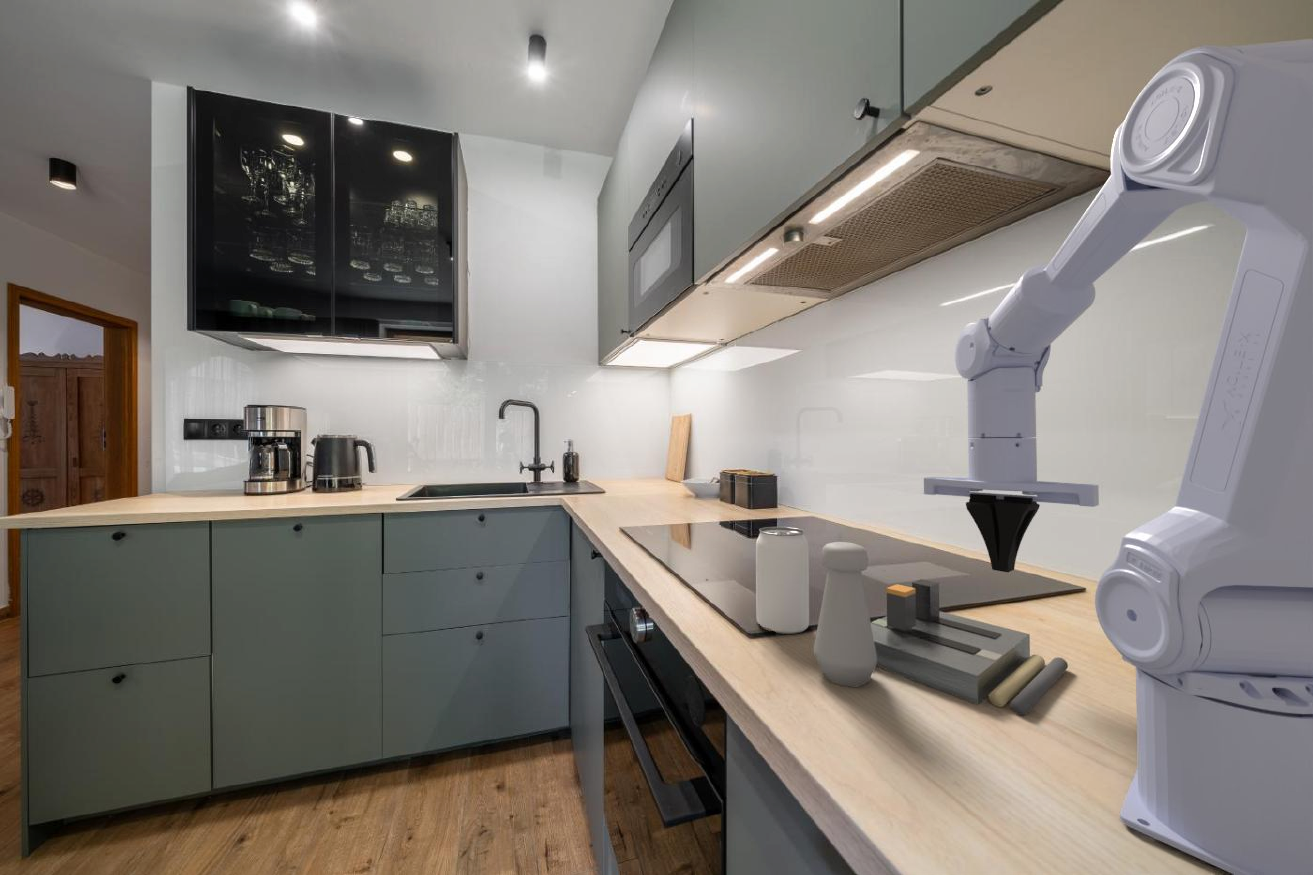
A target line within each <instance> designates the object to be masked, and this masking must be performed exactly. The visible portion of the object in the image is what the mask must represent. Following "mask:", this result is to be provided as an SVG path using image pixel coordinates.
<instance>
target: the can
mask: <svg viewBox="0 0 1313 875" xmlns="http://www.w3.org/2000/svg"><path fill="white" fill-rule="evenodd" d="M758 531H759V534H758V537H757V539H756V542H755V596H756V597H755V602H756V604H755V605H756V607H755V610H756V612H755V613H756V614H755V615H756V616H755V617H756V622H757V624H758V625H759V624H760V625H761V626H763V627H766V628H769V629H771V630H773V631H775V632H776V633H775V634H780V635H798V634H801V633H804V632H805V631H806V630H807V629H808V628H809V626H810V597H809V596H810V583H809V582H810V581H809V580H810V577H809V576H810V573H809V571H810V569H809V565H810V564H809V562H810V561H809V559H810V558H809V556H810V555H809V554H810V553H809V543H808V541H807V538H806V536H805V533H806V532H805V530H803V529H800V528H796V527H788V526H765V527H762V528H759V529H758ZM760 625H759V626H760Z"/></svg>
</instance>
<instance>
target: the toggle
mask: <svg viewBox="0 0 1313 875" xmlns="http://www.w3.org/2000/svg"><path fill="white" fill-rule="evenodd" d="M886 616H887V626H891V627H894V628H897V629H901V630H904V631H907V630H909V629H911V628H913V627H915V626H916V592H915V588H912V586H906V585H902V584H898V583H896V584H894V585H891V586H889V587H886Z"/></svg>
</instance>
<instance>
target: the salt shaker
mask: <svg viewBox="0 0 1313 875" xmlns="http://www.w3.org/2000/svg"><path fill="white" fill-rule="evenodd" d="M867 551H868V550H867V549H865V547H864V546H862V545H859V544H857V543H852V542H845V541H834V542H829V543H826V544H825V545H824V546H823V547H822V550H821V563H822V566H824V567H826V568H827V572H826V579H825V585H824V590H823V596H822V600H821V606H820V612H819V618H818V622H817V629H816V635H815V639H814V640H815V641H814V645H813V653H814V657H815V658H816V662H817V663H818V666H819V668H820V670H821V673H822V675H823V676H824V677H826V678H827V679H828V680H829V681H831V682H832V683H834V684H837V685H840V686H841V685H843V686H847V687H852V688H857V687H860V686H862V685H865V684H867V683H869V682H870V679H871V678H872V676H873V673H874V671H875V668H876V667H877V666H876V663H877V654H876V649H875V644H874V639H873V634H872V628H871V618H870V613H869V607H868V602H867V597H866V591H865V586H864V579H863V573H862V572H863V571H866V570H867V569H868V567H869V566H868V565H869V559H868V558H869V557H868V552H867Z"/></svg>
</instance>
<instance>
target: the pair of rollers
mask: <svg viewBox="0 0 1313 875" xmlns="http://www.w3.org/2000/svg"><path fill="white" fill-rule="evenodd" d="M1045 664H1046V660H1045V658H1043V657H1042V656H1041V655H1039V654H1031V655H1030V658H1028V659H1027V660H1026V661H1025V662H1024V663H1023V664H1022V665H1021V666H1020V667H1018V668H1017V669H1016V670H1015V671H1014V672H1013V673H1012V674H1011V675H1010V676H1008V677H1007V678H1006V679H1005V680H1004V681H1003V682H1002V683H1001V684H1000V685H998V686H997V687H996V688H995V689H994V690H993V691H992V692H991V693H990V694H989V695H988V699H989V702H990V703H991V704H992V705H993V706H995V707H997V708H1003V707H1004V706H1005V705H1007V703H1008V702H1009V701H1010V700H1011V699H1012V698H1013V697H1014V696H1015V695H1016V694H1017V693H1018V692H1019V694H1017V695H1016V696H1015V697H1014V698H1013V699H1012V700H1011V701H1010V707H1011V710H1012V711H1013V712H1014V713H1015V714H1017V715H1019V716H1026V715H1027V714H1028V713H1029V712H1030V711H1031V710H1032V709H1033V708H1034V706H1036V704H1037V703H1038V702H1039V700H1040V699H1042V697H1043V696H1044V695H1045V694H1046V693H1047V692H1048V691H1049V690H1050V688H1051V687H1052V686H1053V685H1054V684H1055V683H1056V682H1057V680H1058V679H1059V678H1060V677H1061V676H1062V675H1063V674H1064V672H1065V671H1066V670H1067V669H1068V667H1069V664H1068V661H1066V659H1064V658H1063V657H1060V656H1059V657H1058V656H1057V657H1054V658H1053V659H1052V660H1050V662H1049V663H1048V664H1047V665H1046V666H1045ZM1044 666H1045V667H1044ZM1043 667H1044V668H1043ZM1042 668H1043V669H1042ZM1041 669H1042V670H1041ZM1040 670H1041V671H1040ZM1038 672H1039V673H1038ZM1037 673H1038V674H1037ZM1036 674H1037V675H1036ZM1035 675H1036V676H1035ZM1034 676H1035V677H1034ZM1032 678H1033V679H1032ZM1031 679H1032V680H1031ZM1029 681H1030V682H1029ZM1028 682H1029V683H1028ZM1027 683H1028V684H1027ZM1026 684H1027V685H1026ZM1025 685H1026V686H1025ZM1024 686H1025V687H1024ZM1023 687H1024V688H1023ZM1022 688H1023V689H1022ZM1021 689H1022V690H1021Z"/></svg>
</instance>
